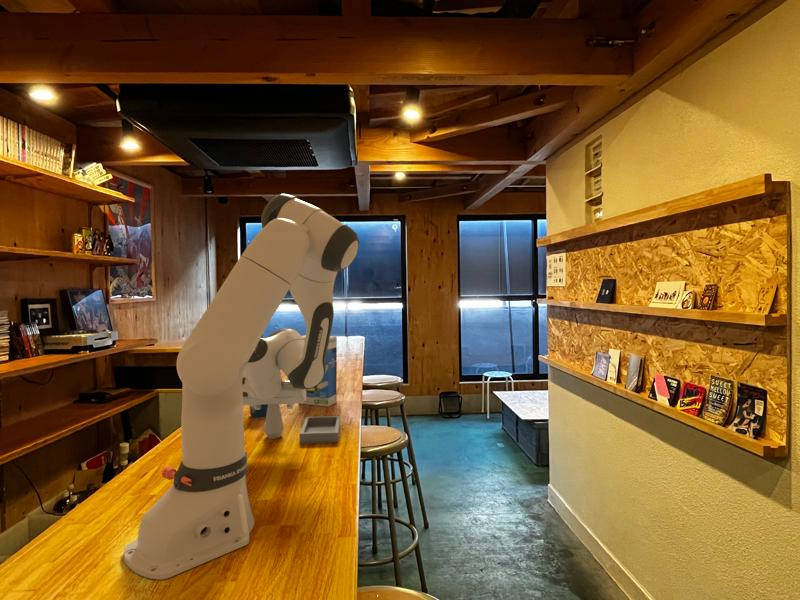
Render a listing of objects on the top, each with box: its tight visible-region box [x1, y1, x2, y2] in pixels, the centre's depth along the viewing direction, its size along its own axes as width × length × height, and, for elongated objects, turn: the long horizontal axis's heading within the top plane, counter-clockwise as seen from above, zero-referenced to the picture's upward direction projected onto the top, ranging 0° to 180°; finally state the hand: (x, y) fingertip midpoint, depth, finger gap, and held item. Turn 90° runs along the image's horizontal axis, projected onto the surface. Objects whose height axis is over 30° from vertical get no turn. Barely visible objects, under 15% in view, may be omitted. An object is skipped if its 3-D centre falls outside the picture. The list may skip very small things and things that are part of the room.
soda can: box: [249, 404, 268, 419], centre depth 161 cm, size 7×7×12 cm
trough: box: [299, 415, 341, 445], centre depth 142 cm, size 16×11×3 cm
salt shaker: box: [263, 404, 285, 440], centre depth 140 cm, size 6×6×13 cm
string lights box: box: [298, 334, 338, 407], centre depth 176 cm, size 13×8×26 cm, turn 72°
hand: (274, 407), depth 138 cm, fingers open, 8 cm apart
